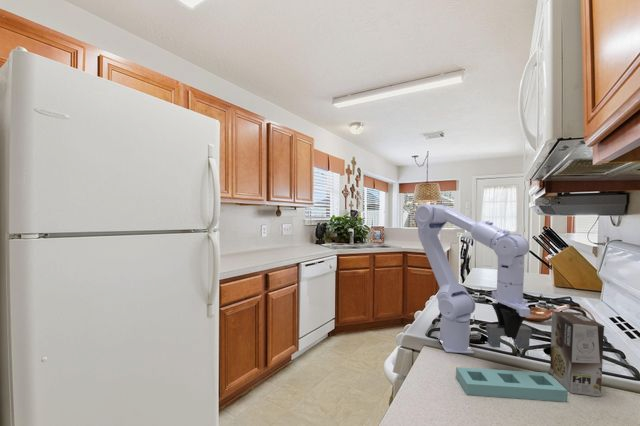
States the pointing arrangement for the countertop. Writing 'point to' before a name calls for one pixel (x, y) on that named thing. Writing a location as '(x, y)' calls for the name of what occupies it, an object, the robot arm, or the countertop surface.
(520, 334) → the grey arch block
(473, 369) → the teal slotted board
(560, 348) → the coffee box
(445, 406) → the countertop surface
